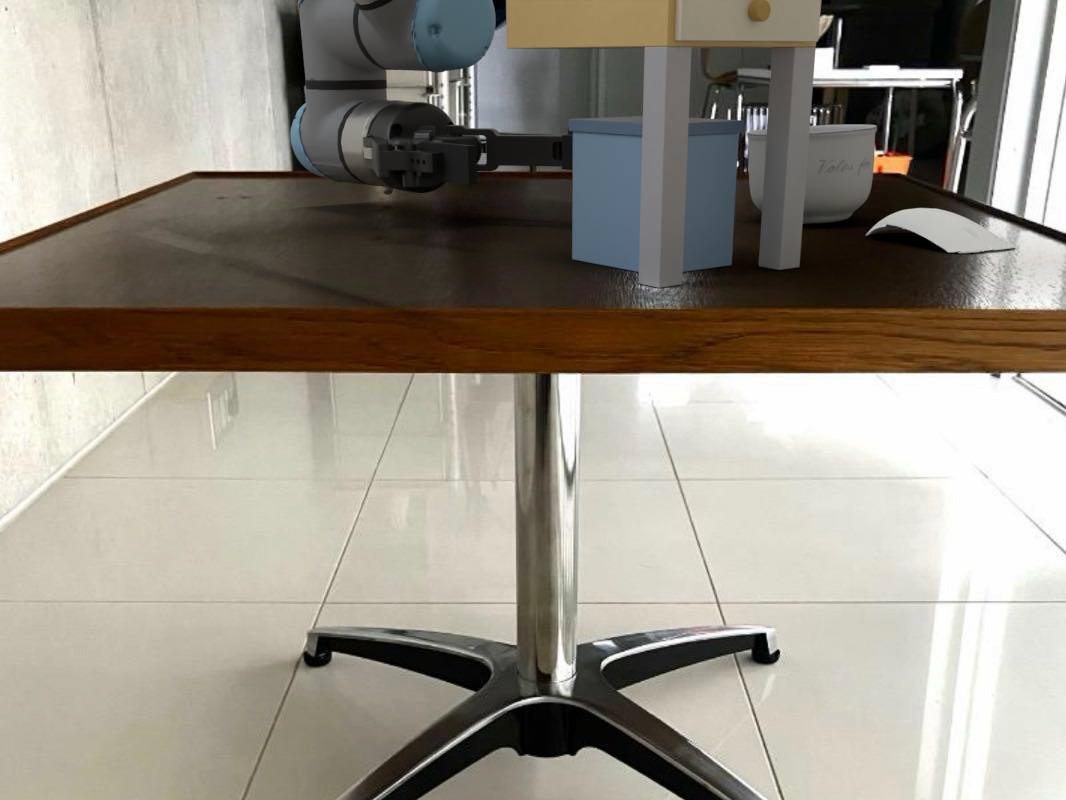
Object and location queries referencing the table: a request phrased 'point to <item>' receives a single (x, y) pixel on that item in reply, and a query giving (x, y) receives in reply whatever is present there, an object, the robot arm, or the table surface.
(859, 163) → the teacup
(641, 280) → the drawer chest
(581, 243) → the storage box
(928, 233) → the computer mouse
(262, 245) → the table surface
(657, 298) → the table surface
